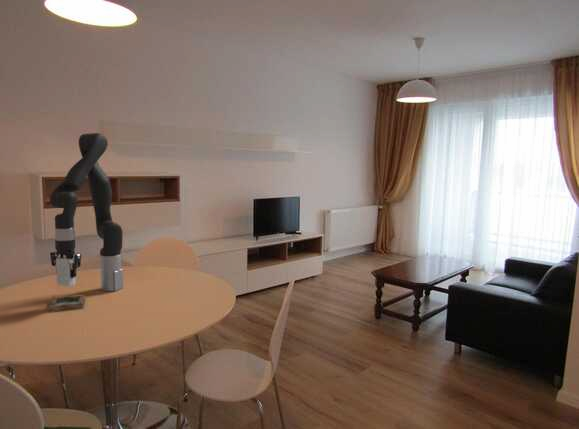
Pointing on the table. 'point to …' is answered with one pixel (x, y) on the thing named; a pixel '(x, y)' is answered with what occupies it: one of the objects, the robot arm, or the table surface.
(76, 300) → the tray
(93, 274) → the table surface
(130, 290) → the table surface
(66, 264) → the skincare box
